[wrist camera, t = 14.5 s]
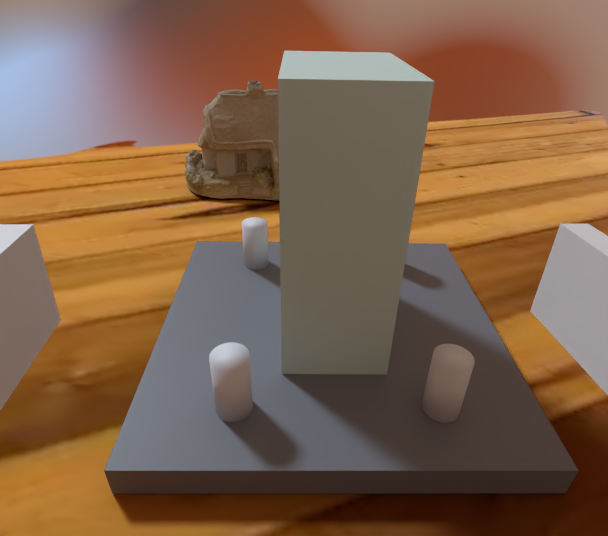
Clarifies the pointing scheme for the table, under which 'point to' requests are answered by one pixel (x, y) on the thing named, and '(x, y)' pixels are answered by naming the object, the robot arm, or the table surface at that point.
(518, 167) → the table surface
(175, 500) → the table surface
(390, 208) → the mint board
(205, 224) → the table surface
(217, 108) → the ceramic model
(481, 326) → the peg plinth
